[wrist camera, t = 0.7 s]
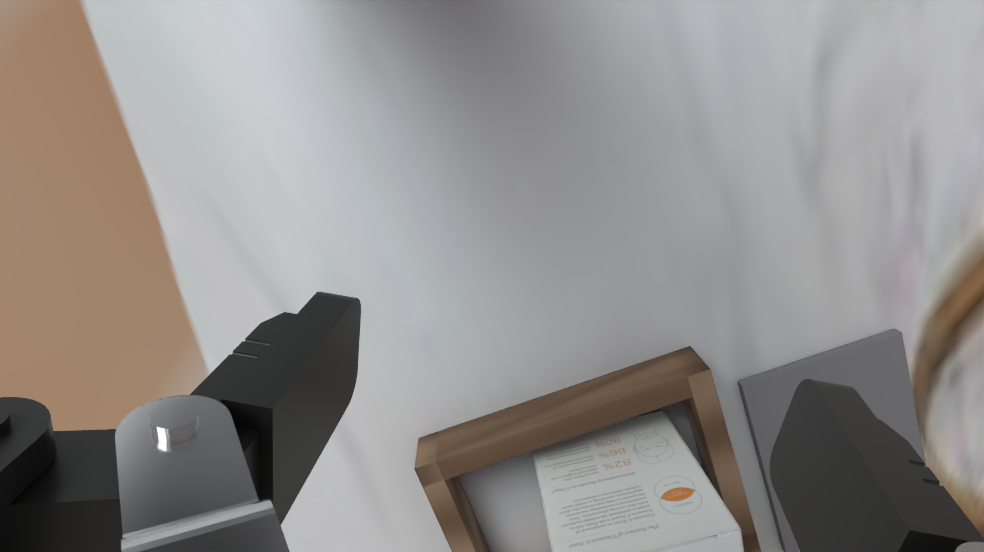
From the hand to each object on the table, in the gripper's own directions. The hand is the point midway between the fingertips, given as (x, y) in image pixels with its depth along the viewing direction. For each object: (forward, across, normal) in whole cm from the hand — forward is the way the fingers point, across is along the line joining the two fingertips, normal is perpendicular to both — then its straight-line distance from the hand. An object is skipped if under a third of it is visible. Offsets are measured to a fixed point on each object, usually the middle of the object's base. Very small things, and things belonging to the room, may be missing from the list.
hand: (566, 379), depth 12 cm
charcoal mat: (+22, -18, +15) cm, 32 cm away
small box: (+20, -5, +18) cm, 27 cm away
